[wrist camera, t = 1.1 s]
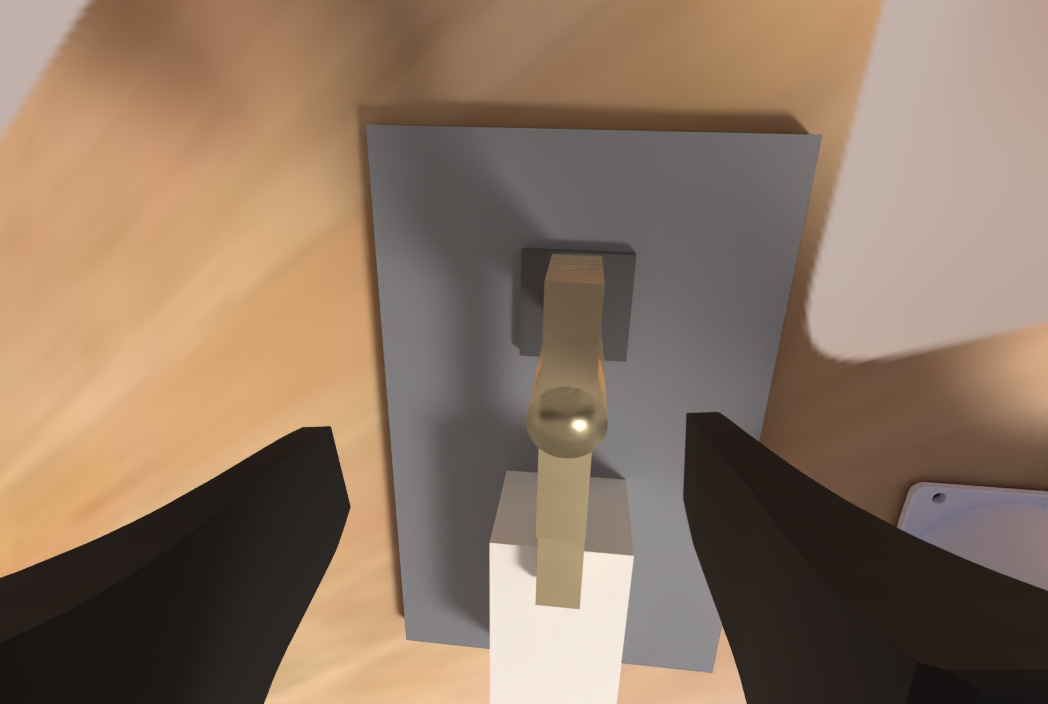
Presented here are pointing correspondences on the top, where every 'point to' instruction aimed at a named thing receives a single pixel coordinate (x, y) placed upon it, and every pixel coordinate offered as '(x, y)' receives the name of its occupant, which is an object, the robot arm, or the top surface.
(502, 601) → the cover
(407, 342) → the plate
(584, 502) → the t key
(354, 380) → the top surface
